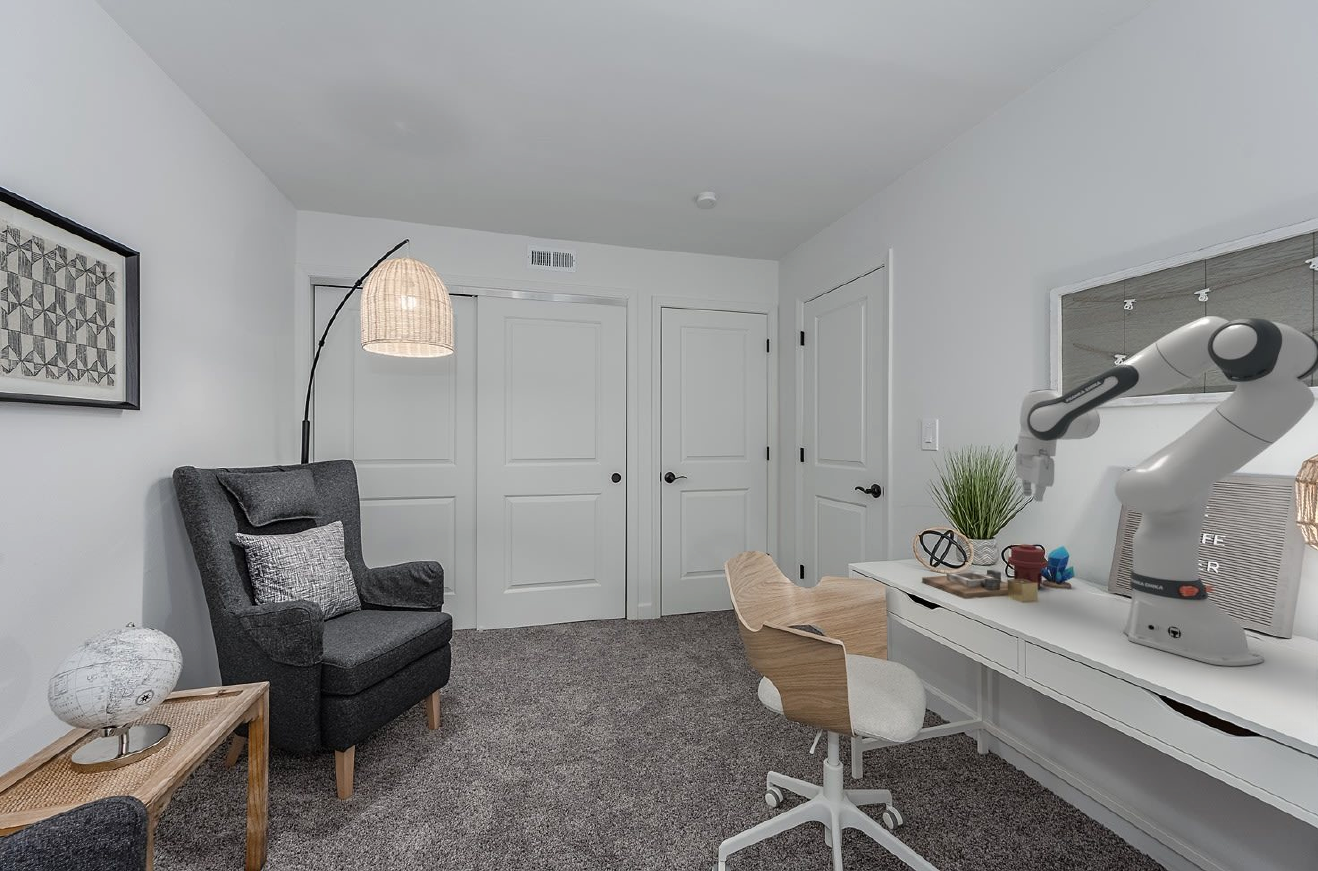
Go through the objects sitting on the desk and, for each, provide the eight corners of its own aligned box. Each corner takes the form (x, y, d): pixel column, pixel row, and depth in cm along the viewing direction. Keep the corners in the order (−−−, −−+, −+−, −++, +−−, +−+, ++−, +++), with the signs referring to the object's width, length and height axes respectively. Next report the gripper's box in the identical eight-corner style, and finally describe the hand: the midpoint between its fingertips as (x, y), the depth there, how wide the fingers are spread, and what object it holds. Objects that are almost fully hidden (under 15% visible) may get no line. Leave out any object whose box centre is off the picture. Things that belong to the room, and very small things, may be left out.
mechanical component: (1034, 592, 165) (1000, 584, 174) (1055, 588, 169) (1021, 580, 178) (1034, 550, 165) (1000, 544, 174) (1055, 547, 169) (1021, 541, 178)
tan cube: (1037, 601, 157) (1037, 582, 157) (1022, 602, 156) (1022, 583, 156) (1022, 596, 162) (1022, 578, 162) (1007, 597, 161) (1007, 579, 161)
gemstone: (1056, 581, 177) (1056, 542, 177) (1078, 589, 168) (1078, 548, 168) (1033, 582, 176) (1033, 543, 176) (1054, 589, 168) (1054, 548, 168)
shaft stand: (1025, 593, 164) (1025, 577, 164) (965, 598, 160) (965, 582, 160) (977, 578, 182) (977, 564, 182) (922, 582, 177) (922, 567, 177)
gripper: (1063, 452, 147) (1059, 505, 148) (1037, 446, 166) (1033, 493, 167) (1035, 450, 149) (1031, 503, 150) (1013, 445, 168) (1009, 491, 169)
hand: (1032, 498), depth 159 cm, fingers open, 8 cm apart
